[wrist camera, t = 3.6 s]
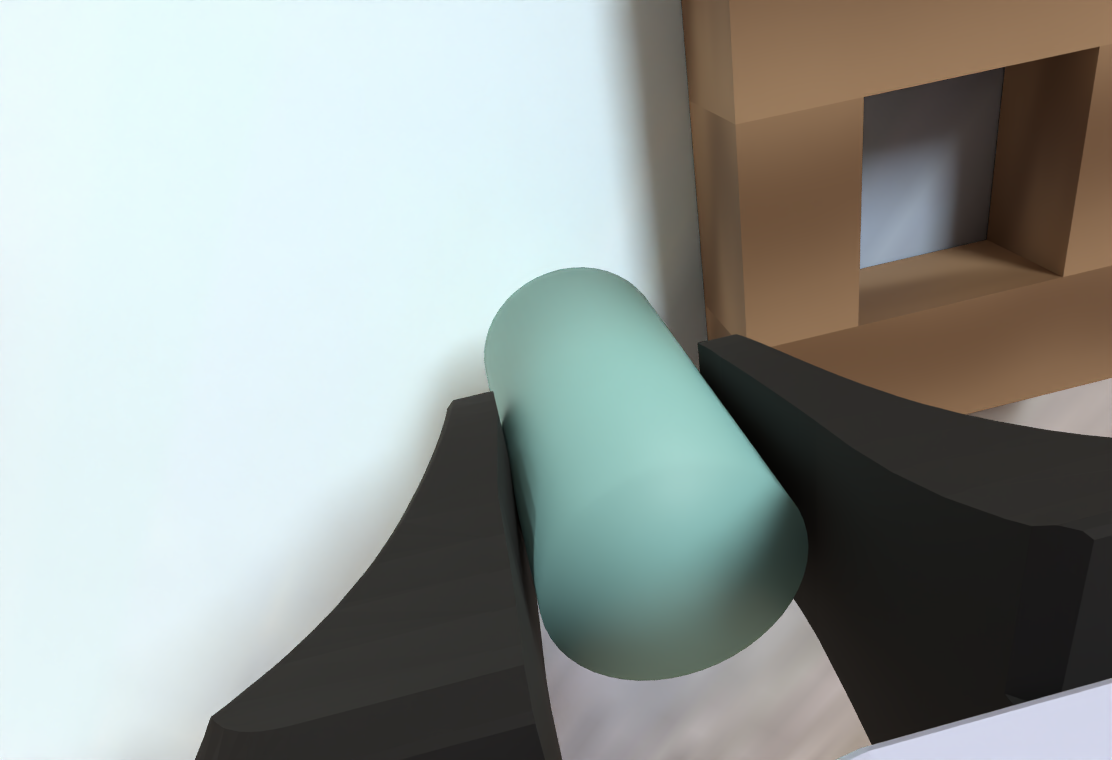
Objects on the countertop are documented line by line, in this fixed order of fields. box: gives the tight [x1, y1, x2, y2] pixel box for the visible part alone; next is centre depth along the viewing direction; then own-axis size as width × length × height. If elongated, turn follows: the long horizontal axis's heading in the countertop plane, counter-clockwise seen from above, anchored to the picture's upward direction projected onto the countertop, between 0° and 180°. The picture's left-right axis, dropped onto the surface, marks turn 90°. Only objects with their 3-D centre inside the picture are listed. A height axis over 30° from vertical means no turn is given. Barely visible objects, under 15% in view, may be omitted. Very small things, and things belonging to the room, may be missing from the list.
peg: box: [484, 267, 808, 681], centre depth 12 cm, size 3×3×6 cm
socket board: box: [681, 0, 1112, 414], centre depth 16 cm, size 12×9×2 cm
